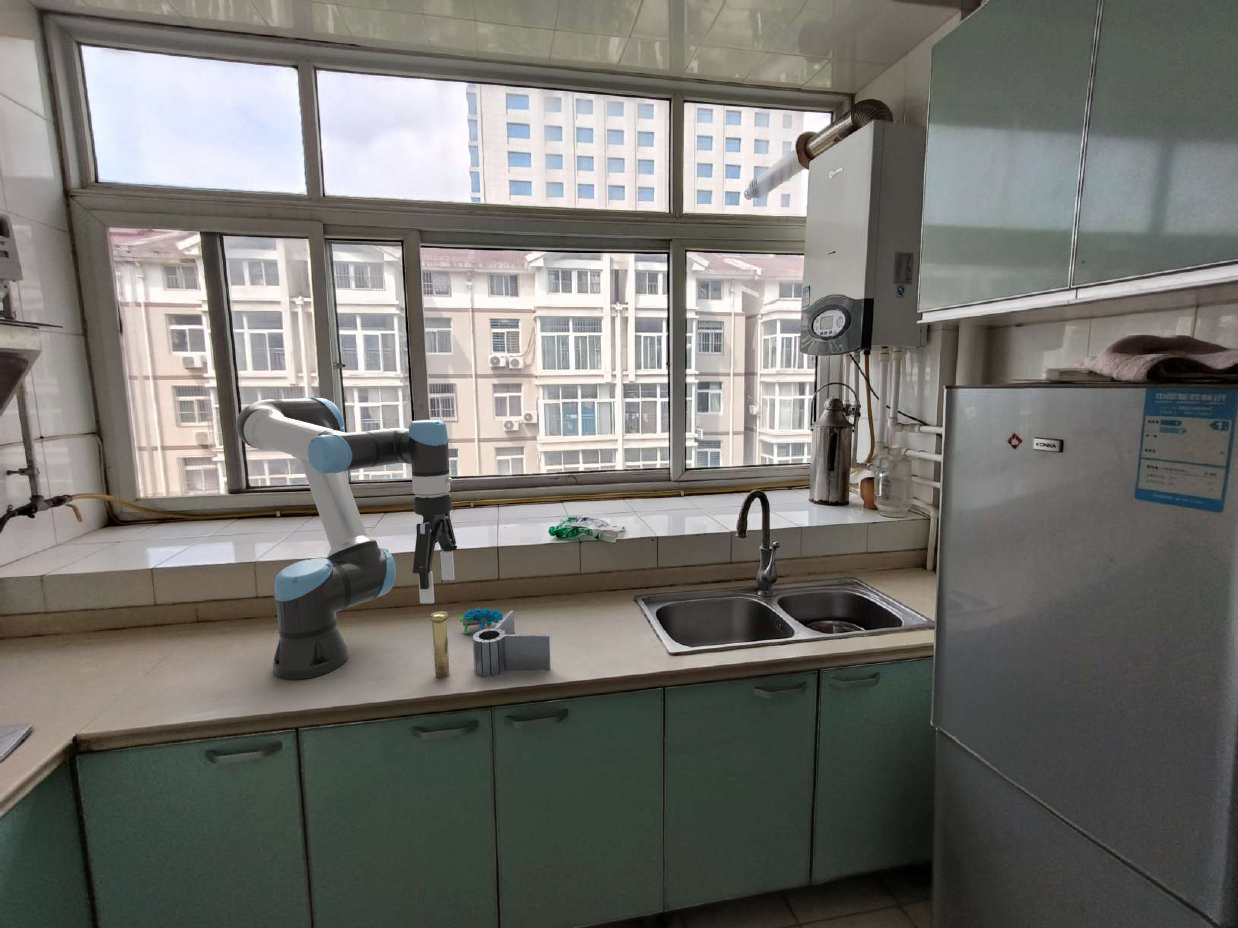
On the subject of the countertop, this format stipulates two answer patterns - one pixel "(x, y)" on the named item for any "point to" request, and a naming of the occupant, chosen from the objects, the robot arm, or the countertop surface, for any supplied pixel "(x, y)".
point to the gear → (480, 617)
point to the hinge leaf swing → (507, 623)
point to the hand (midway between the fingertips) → (438, 590)
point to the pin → (440, 643)
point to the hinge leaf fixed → (509, 652)
